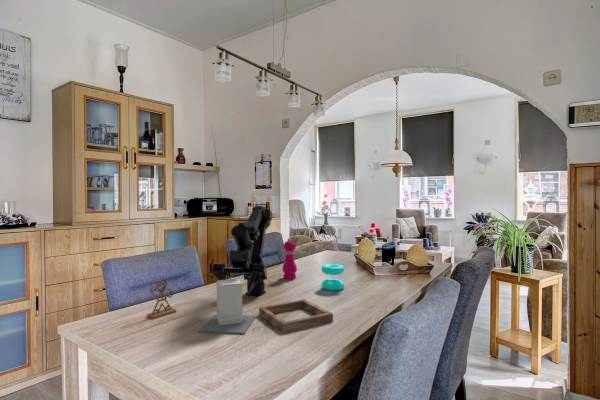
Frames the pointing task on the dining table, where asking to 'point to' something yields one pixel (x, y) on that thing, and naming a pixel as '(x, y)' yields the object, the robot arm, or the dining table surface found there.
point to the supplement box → (229, 301)
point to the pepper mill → (289, 260)
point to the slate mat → (227, 326)
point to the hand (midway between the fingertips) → (234, 292)
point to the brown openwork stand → (166, 310)
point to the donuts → (332, 283)
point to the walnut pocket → (319, 318)
